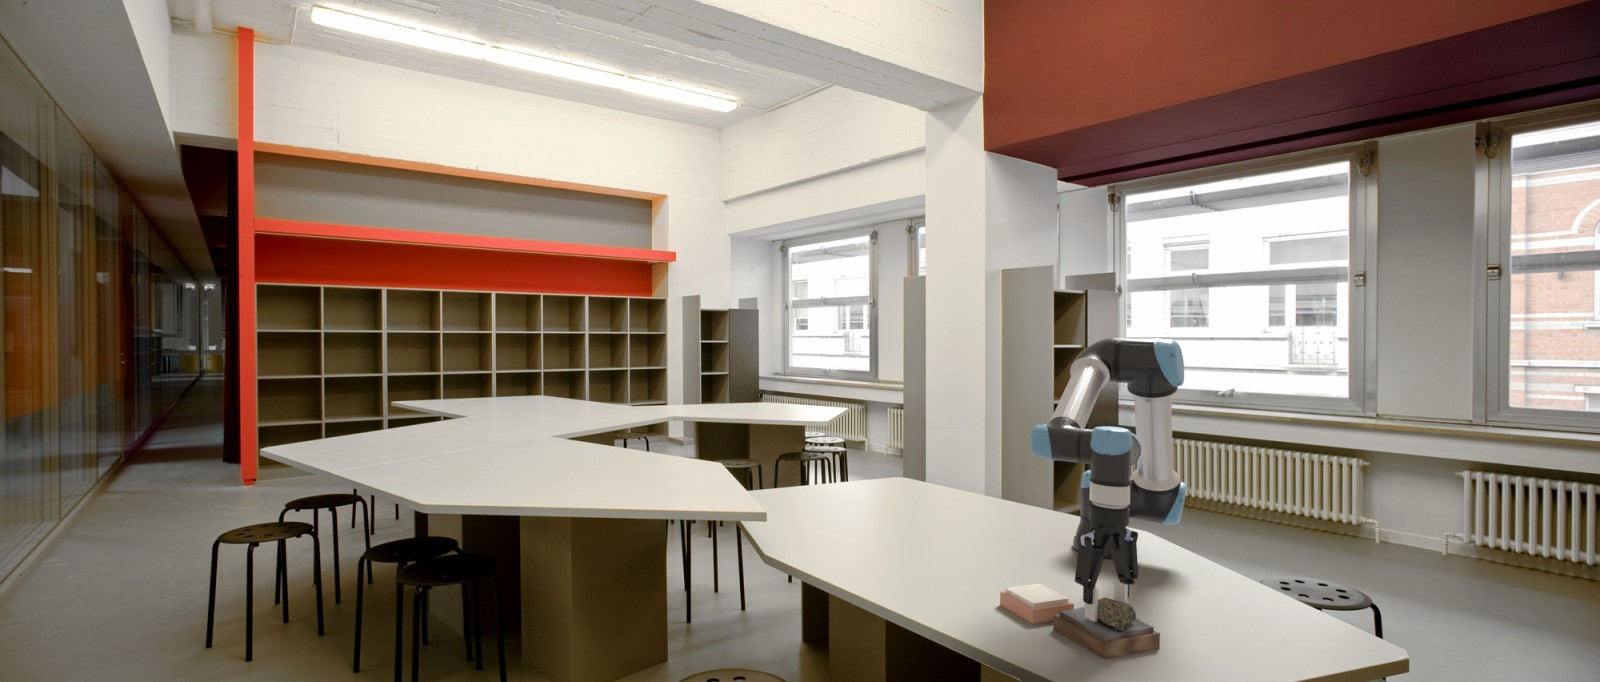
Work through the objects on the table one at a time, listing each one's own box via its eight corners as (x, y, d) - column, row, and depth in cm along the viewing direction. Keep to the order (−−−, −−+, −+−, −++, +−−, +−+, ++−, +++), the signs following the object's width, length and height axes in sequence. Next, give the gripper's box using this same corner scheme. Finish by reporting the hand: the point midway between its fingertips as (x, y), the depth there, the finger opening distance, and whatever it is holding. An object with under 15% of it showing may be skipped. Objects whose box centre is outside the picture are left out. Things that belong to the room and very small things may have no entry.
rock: (1085, 621, 142) (1085, 599, 142) (1101, 610, 148) (1101, 589, 148) (1121, 632, 137) (1122, 609, 137) (1137, 621, 143) (1137, 599, 143)
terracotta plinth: (1039, 599, 165) (1039, 581, 165) (1073, 617, 155) (1074, 599, 155) (1000, 604, 161) (1000, 587, 161) (1032, 624, 151) (1033, 605, 151)
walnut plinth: (1105, 620, 154) (1105, 602, 153) (1159, 648, 140) (1160, 628, 140) (1053, 629, 148) (1054, 610, 148) (1104, 658, 135) (1105, 637, 135)
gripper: (1131, 496, 151) (1128, 603, 152) (1056, 502, 144) (1053, 615, 144) (1161, 504, 144) (1157, 617, 145) (1084, 512, 137) (1080, 630, 137)
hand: (1105, 616), depth 144 cm, fingers closed on rock, 7 cm apart
